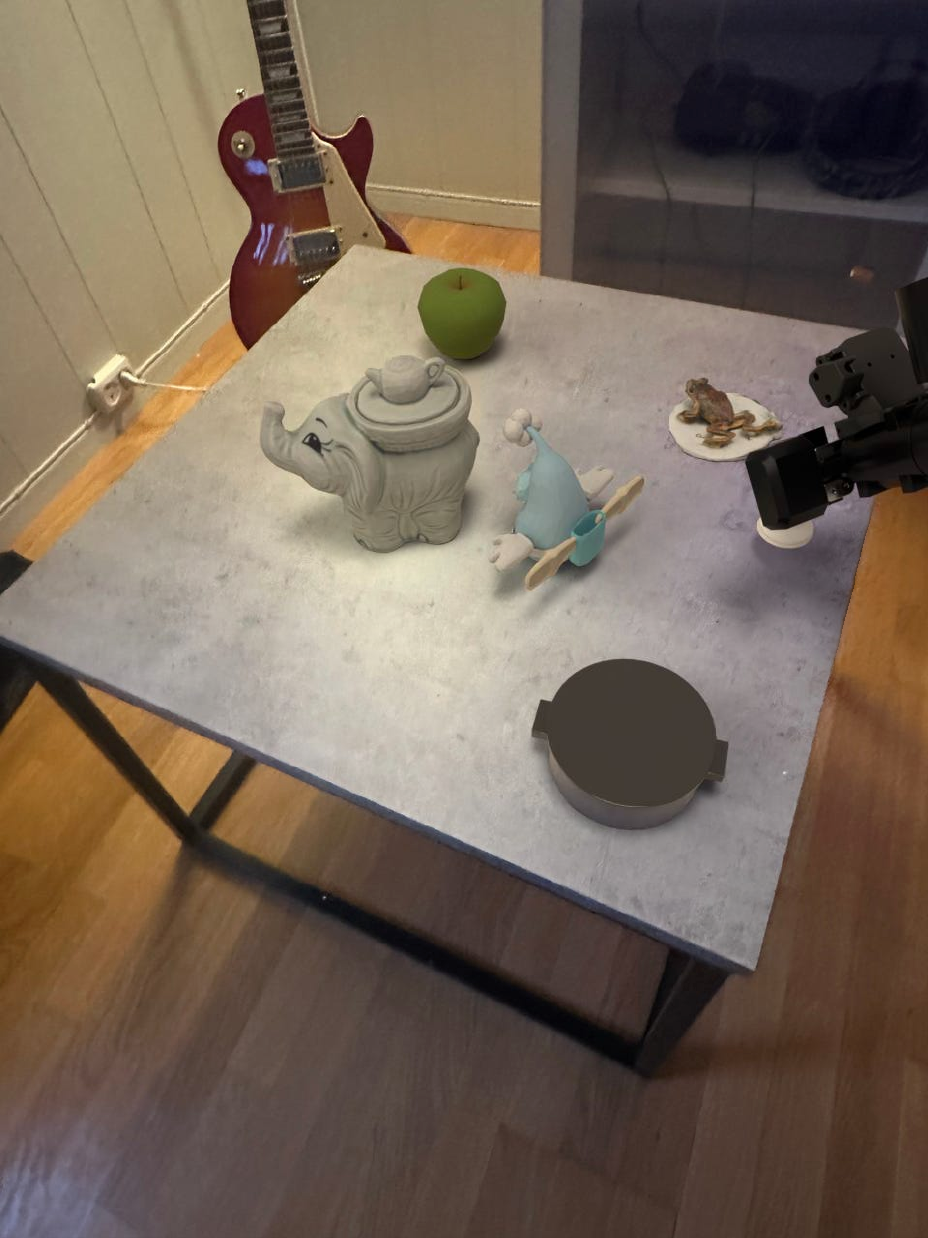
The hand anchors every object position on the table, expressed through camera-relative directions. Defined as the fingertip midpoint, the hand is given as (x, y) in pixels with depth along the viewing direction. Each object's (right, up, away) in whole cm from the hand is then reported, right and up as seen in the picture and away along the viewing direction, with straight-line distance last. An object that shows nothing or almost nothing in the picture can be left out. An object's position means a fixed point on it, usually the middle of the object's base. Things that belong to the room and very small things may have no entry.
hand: (794, 466), depth 66 cm
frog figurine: (0, +8, +18) cm, 20 cm away
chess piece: (+1, -5, +5) cm, 7 cm away
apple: (-29, +20, +30) cm, 46 cm away
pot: (-16, -24, -5) cm, 30 cm away
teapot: (-37, -3, +13) cm, 39 cm away
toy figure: (-20, -6, +9) cm, 23 cm away
